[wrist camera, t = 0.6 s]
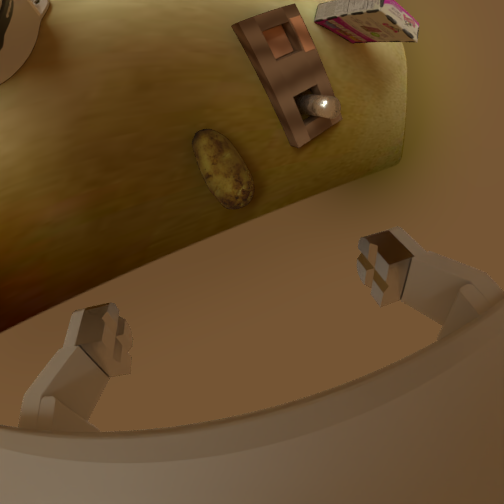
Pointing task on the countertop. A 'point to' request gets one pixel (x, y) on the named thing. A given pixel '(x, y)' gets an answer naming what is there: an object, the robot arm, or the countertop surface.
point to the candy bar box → (368, 21)
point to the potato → (223, 169)
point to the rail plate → (286, 68)
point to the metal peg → (318, 105)
